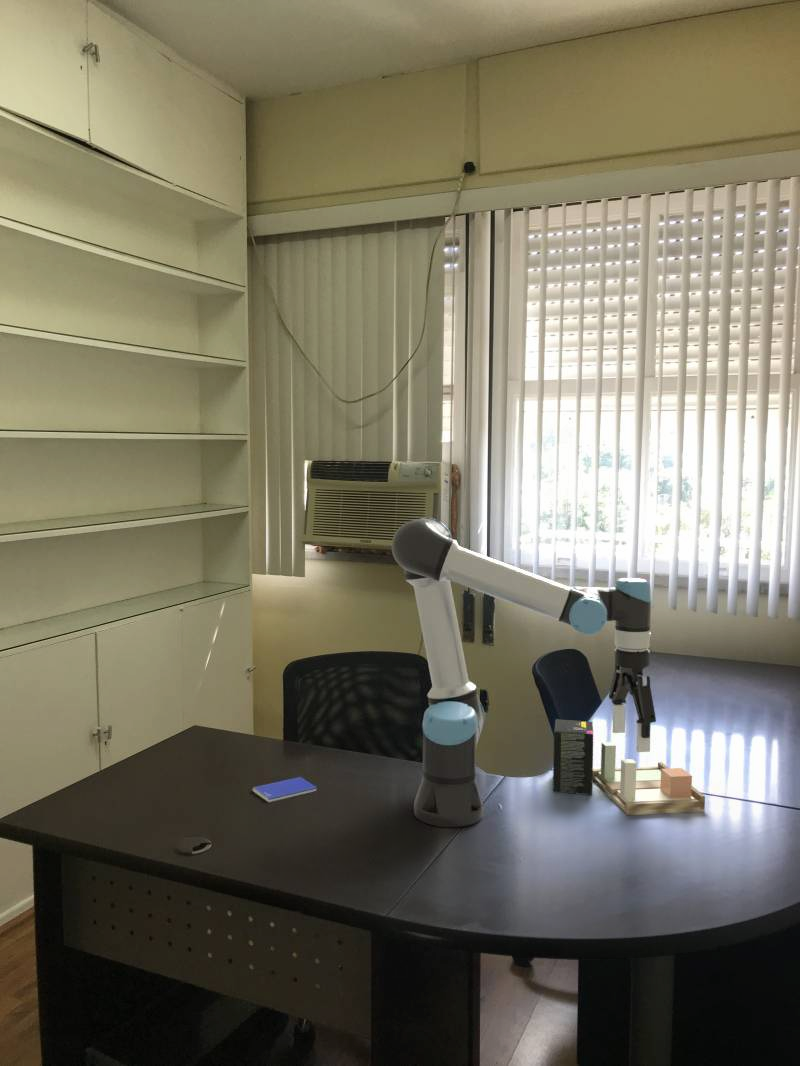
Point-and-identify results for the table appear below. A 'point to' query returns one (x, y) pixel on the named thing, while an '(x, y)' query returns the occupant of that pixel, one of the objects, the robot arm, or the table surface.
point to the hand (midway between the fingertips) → (630, 741)
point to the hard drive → (284, 789)
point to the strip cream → (640, 795)
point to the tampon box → (573, 756)
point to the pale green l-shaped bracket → (612, 776)
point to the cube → (676, 783)
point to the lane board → (654, 806)
